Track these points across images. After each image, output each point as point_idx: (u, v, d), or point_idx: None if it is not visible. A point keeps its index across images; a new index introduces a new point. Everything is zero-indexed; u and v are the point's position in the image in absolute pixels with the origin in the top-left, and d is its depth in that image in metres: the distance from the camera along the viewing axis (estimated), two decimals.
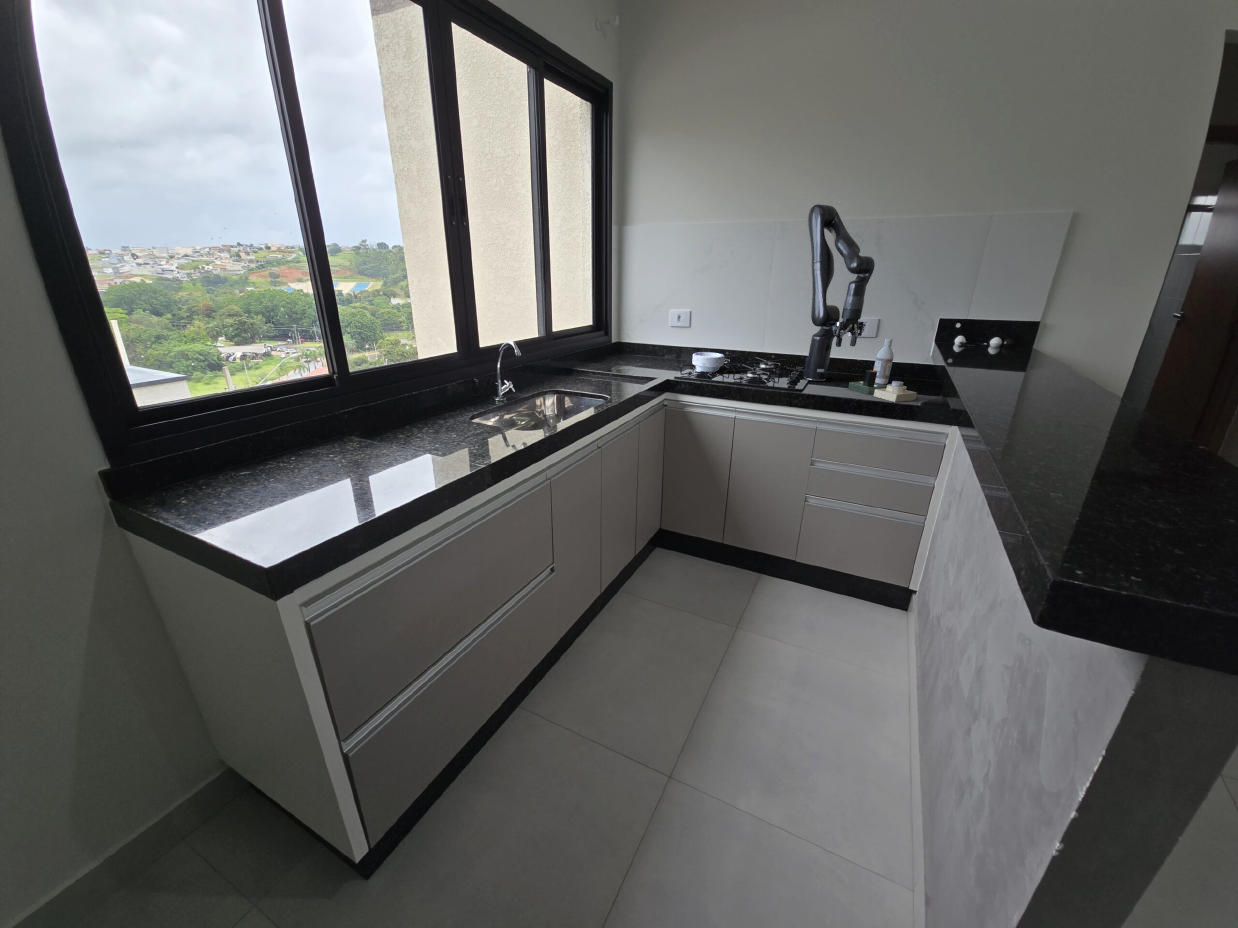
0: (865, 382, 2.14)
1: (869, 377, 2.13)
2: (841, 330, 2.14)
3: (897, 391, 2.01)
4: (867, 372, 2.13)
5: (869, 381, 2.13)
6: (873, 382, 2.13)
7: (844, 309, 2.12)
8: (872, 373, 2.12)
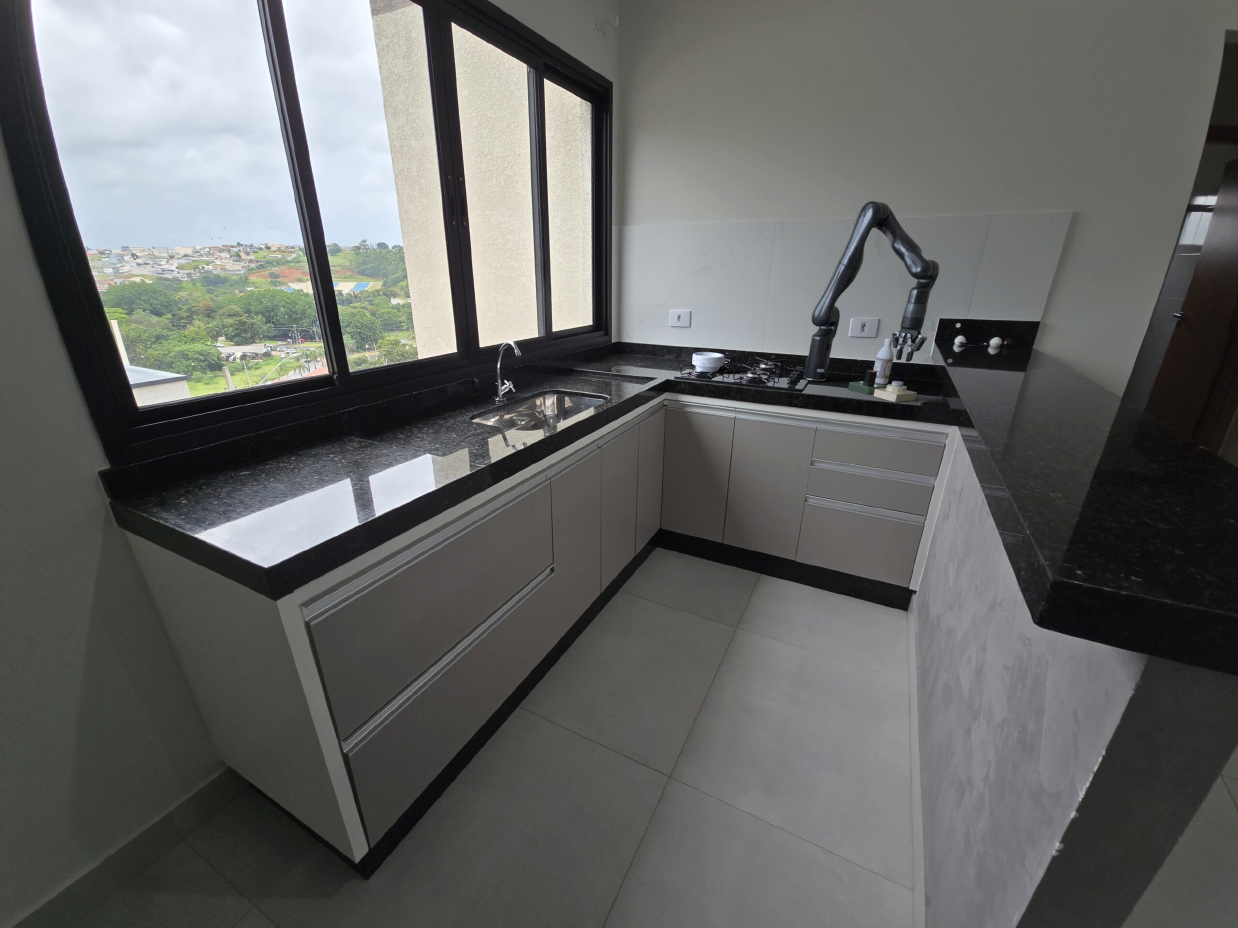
0: (865, 382, 2.14)
1: (869, 377, 2.13)
2: None
3: (897, 391, 2.01)
4: (867, 372, 2.13)
5: (869, 381, 2.13)
6: (873, 382, 2.13)
7: None
8: (872, 373, 2.12)
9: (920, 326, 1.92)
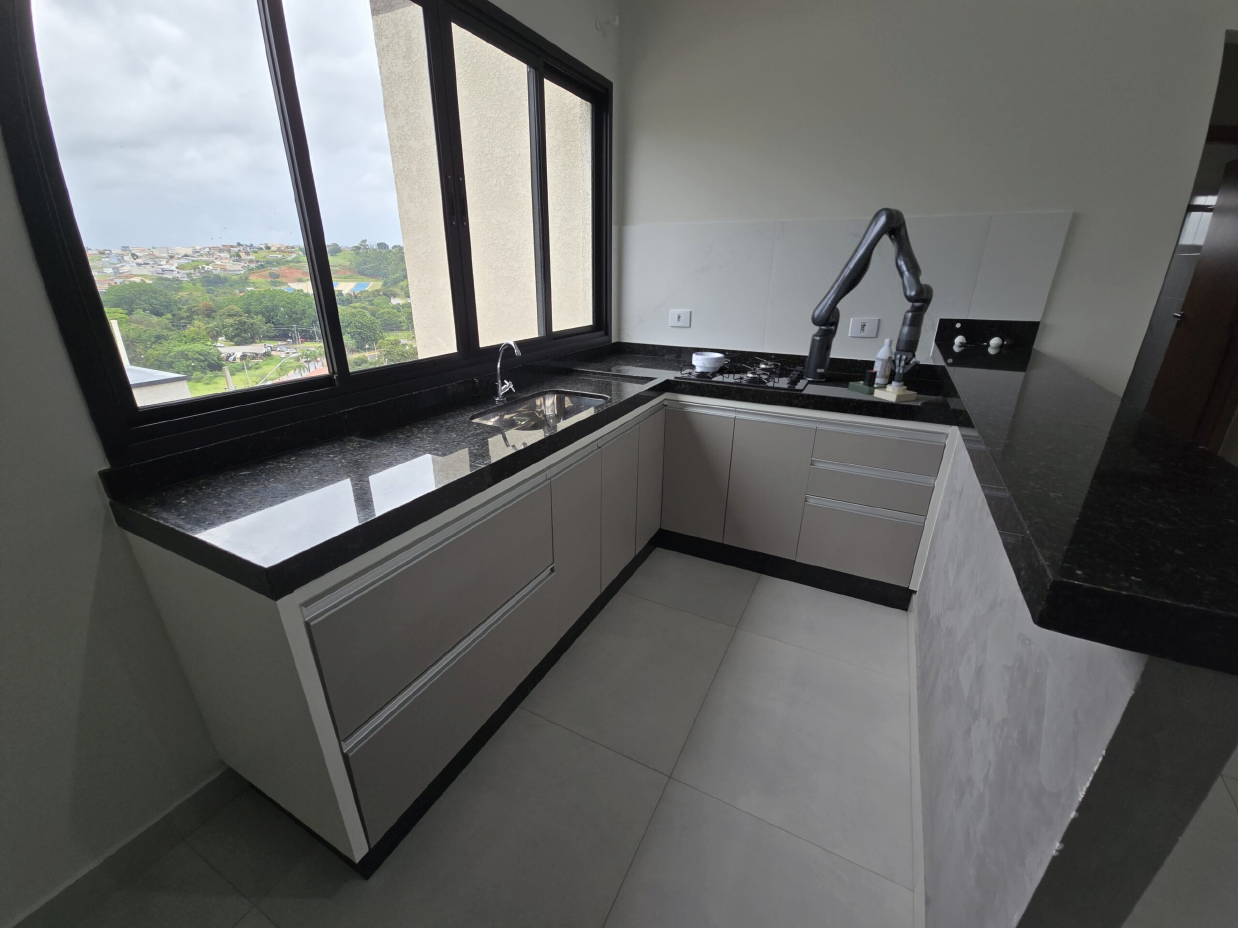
0: (865, 382, 2.14)
1: (869, 377, 2.13)
2: None
3: (897, 391, 2.01)
4: (867, 372, 2.13)
5: (869, 381, 2.13)
6: (873, 382, 2.13)
7: None
8: (872, 373, 2.12)
9: (915, 348, 1.95)
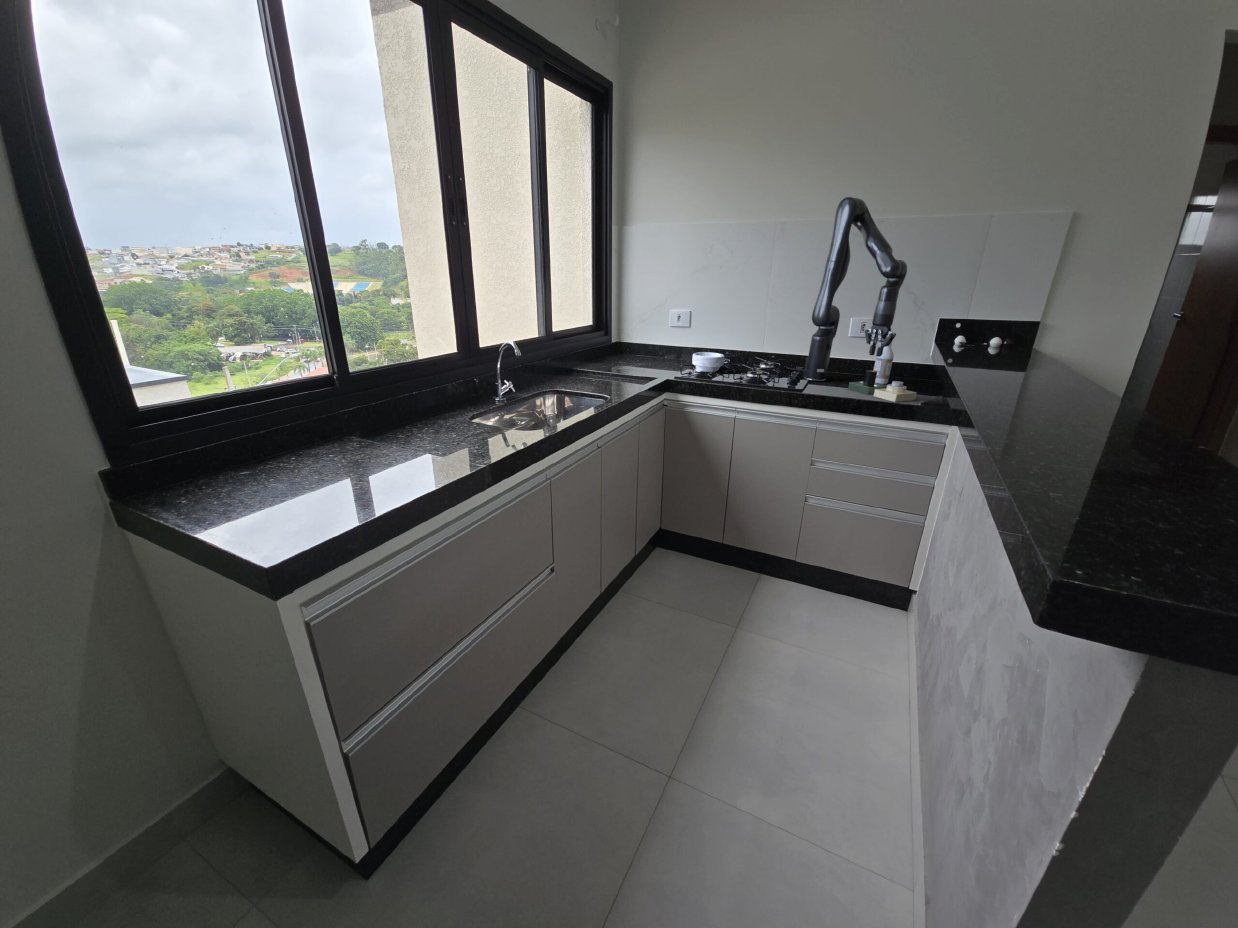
0: (865, 382, 2.14)
1: (869, 377, 2.13)
2: None
3: (897, 391, 2.01)
4: (867, 372, 2.13)
5: (869, 381, 2.13)
6: (873, 382, 2.13)
7: None
8: (872, 373, 2.12)
9: (890, 322, 2.03)
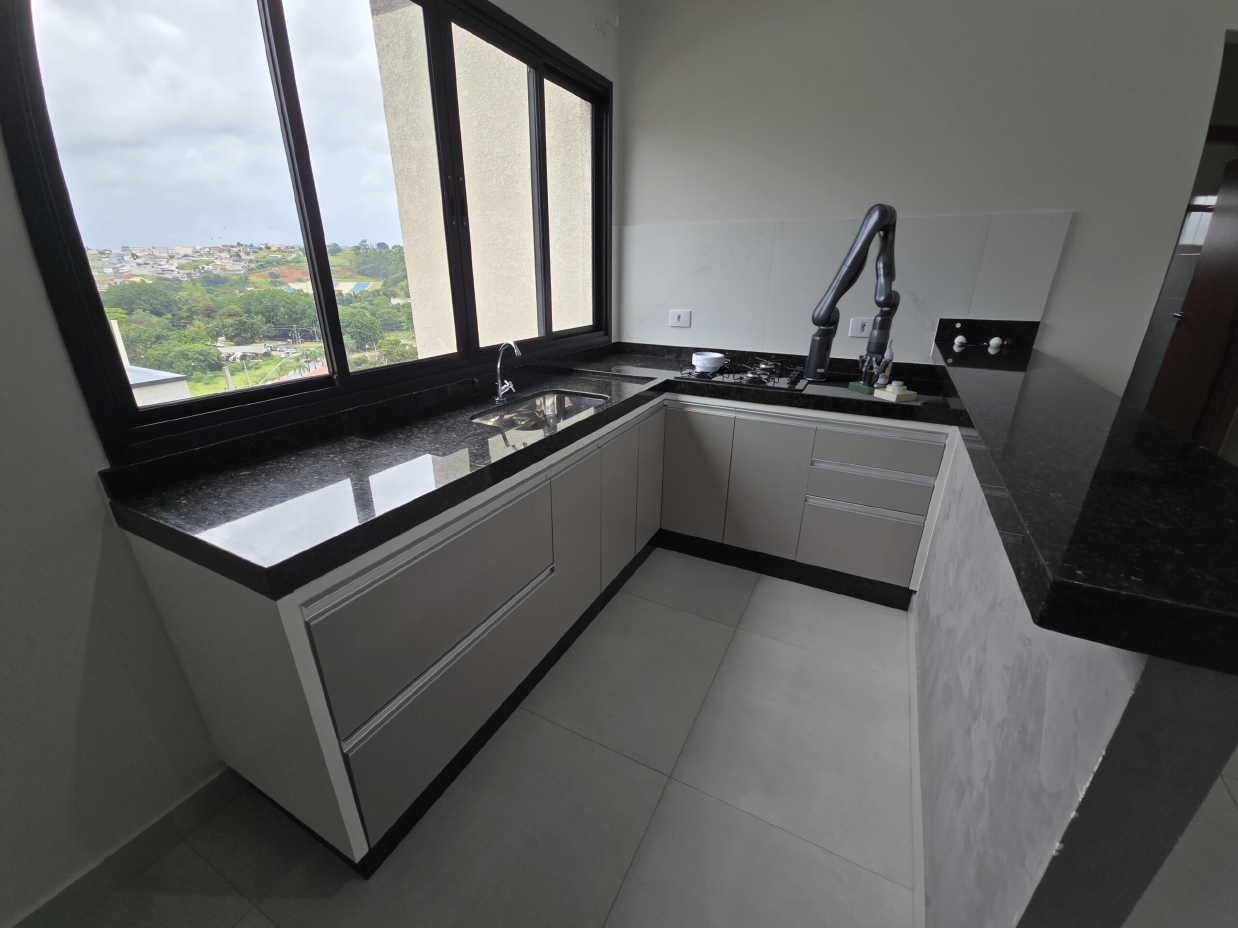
0: (865, 382, 2.14)
1: (869, 377, 2.13)
2: None
3: (897, 391, 2.01)
4: (867, 372, 2.13)
5: (869, 381, 2.13)
6: None
7: None
8: (872, 373, 2.12)
9: (884, 351, 2.07)
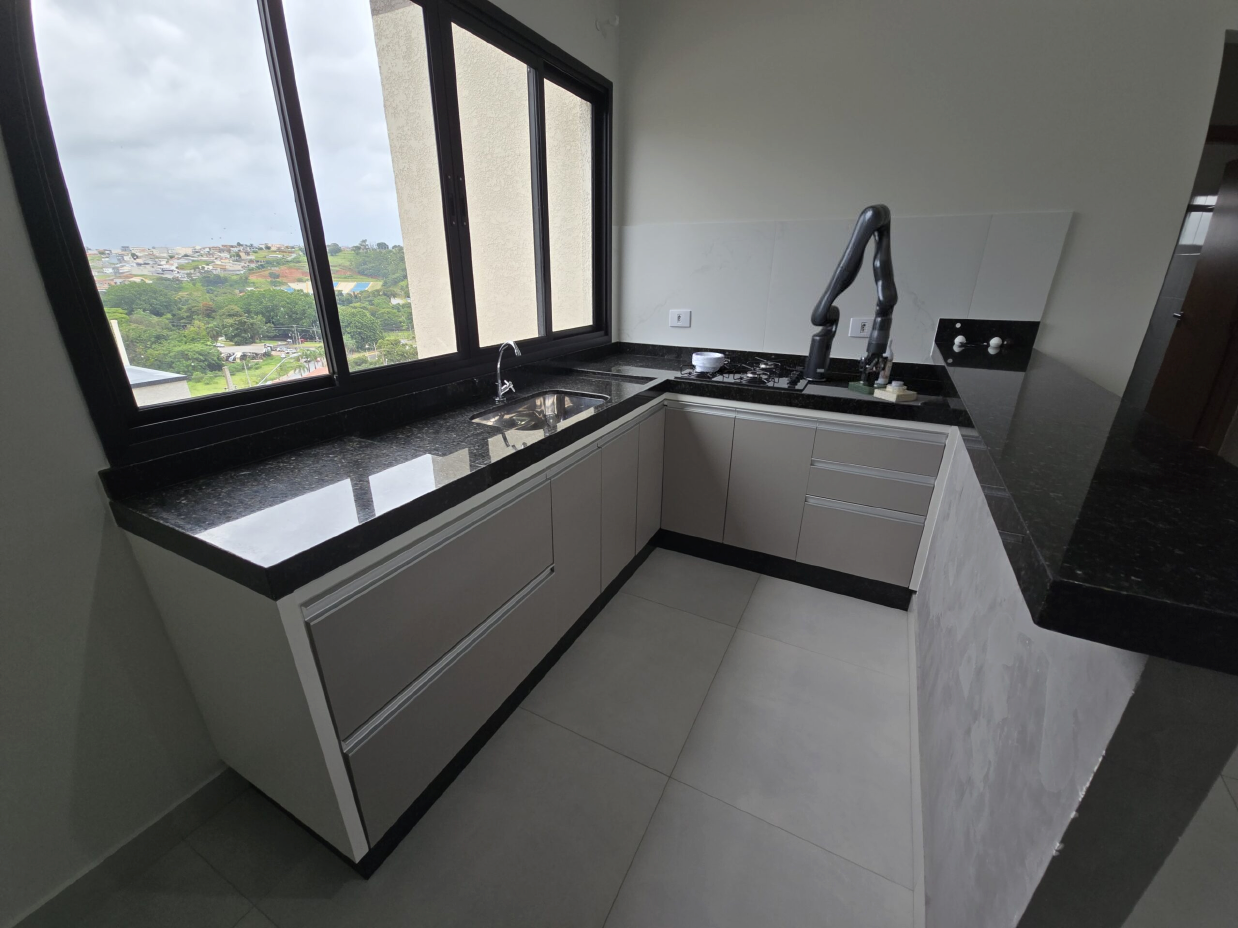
0: (873, 383, 2.13)
1: None
2: (866, 365, 2.11)
3: (897, 391, 2.01)
4: (875, 373, 2.12)
5: None
6: None
7: (869, 343, 2.09)
8: None
9: None
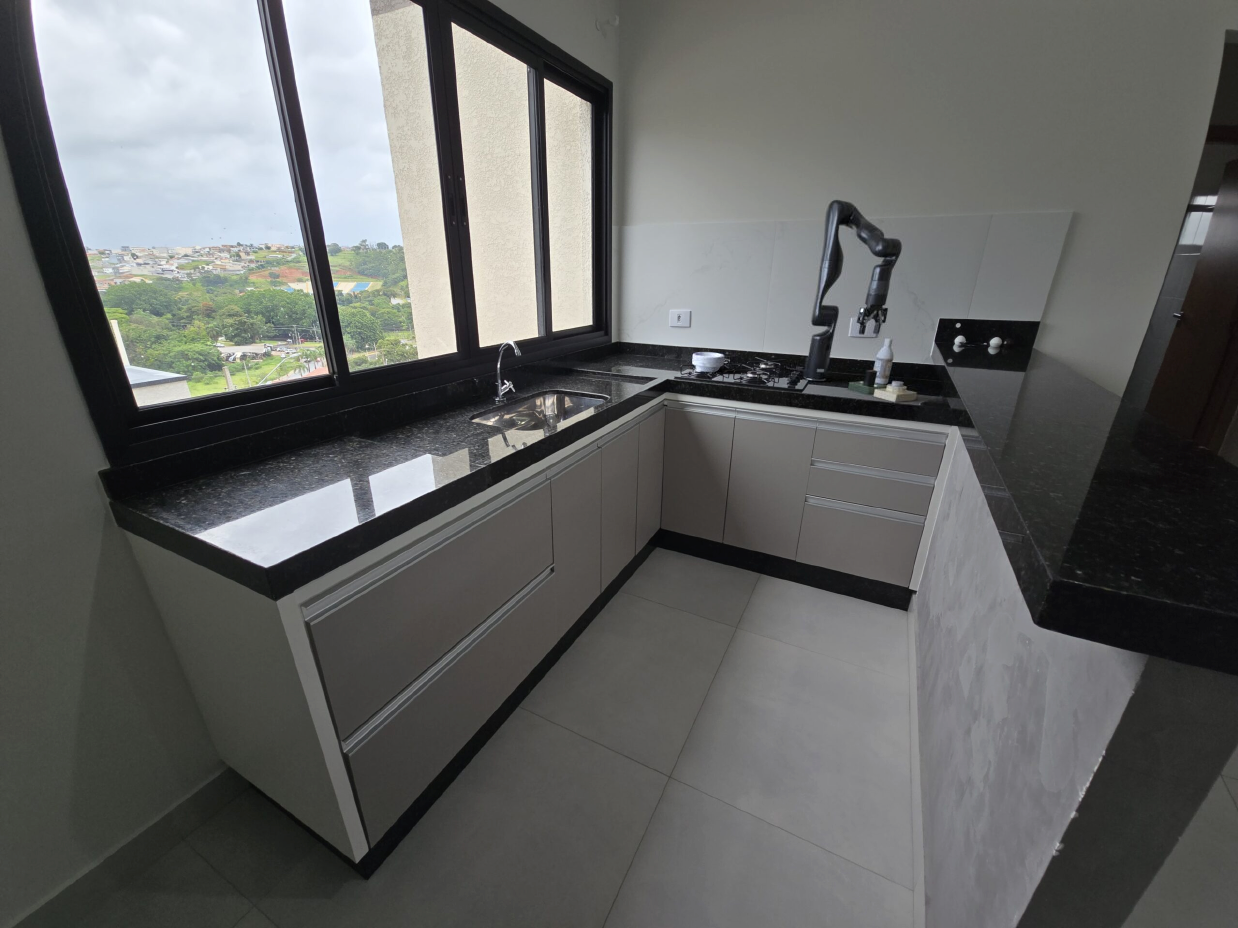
0: (873, 383, 2.13)
1: None
2: (865, 317, 2.05)
3: (897, 391, 2.01)
4: (875, 373, 2.12)
5: None
6: None
7: (868, 295, 2.02)
8: None
9: None
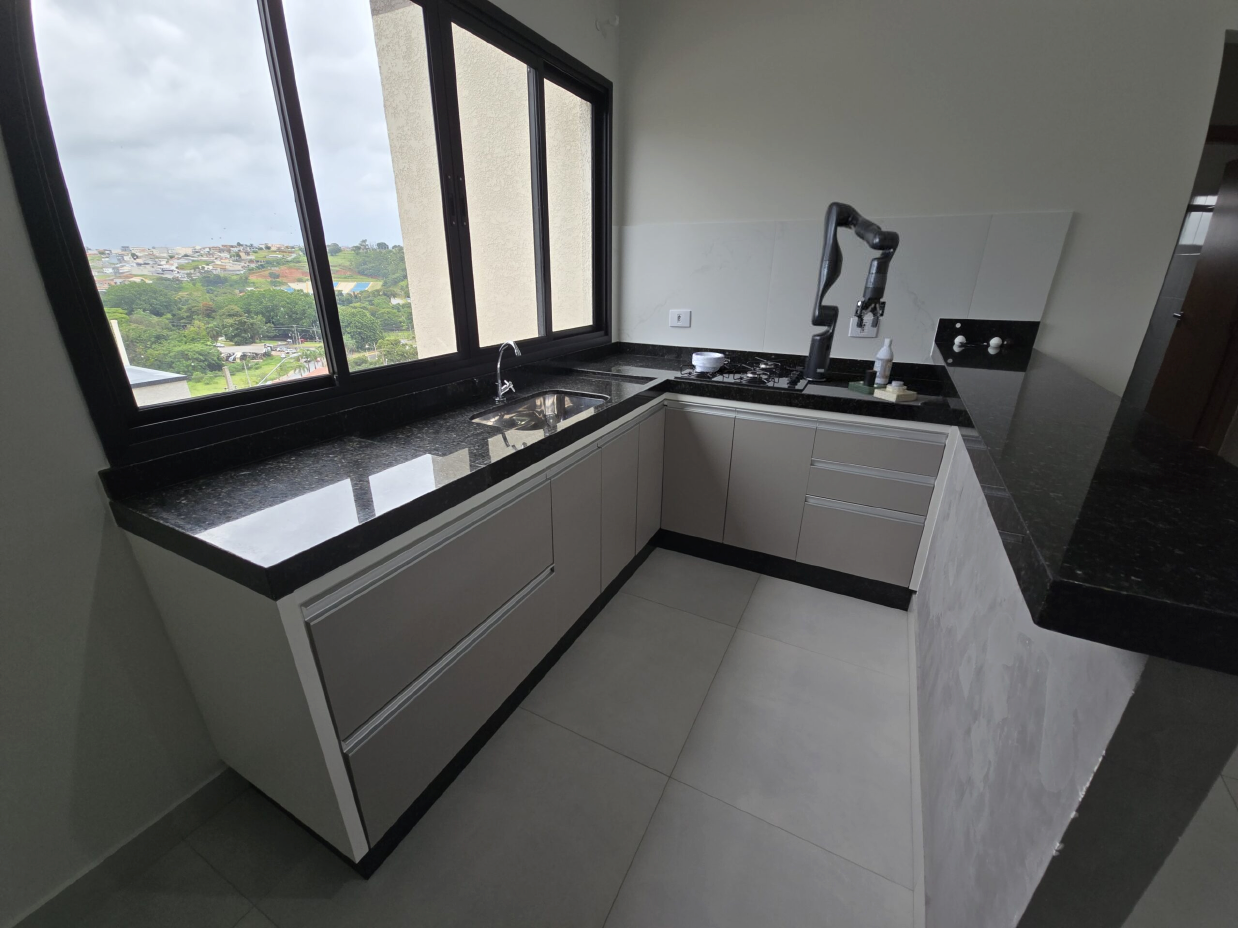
0: (873, 383, 2.13)
1: None
2: (862, 310, 2.04)
3: (897, 391, 2.01)
4: (875, 373, 2.12)
5: None
6: None
7: (866, 288, 2.01)
8: None
9: None
